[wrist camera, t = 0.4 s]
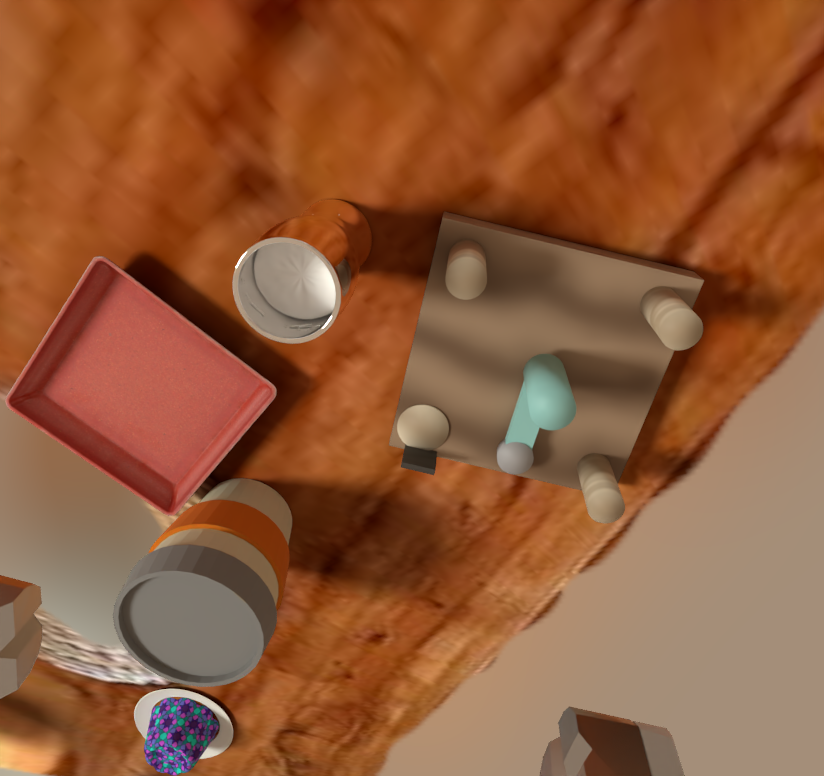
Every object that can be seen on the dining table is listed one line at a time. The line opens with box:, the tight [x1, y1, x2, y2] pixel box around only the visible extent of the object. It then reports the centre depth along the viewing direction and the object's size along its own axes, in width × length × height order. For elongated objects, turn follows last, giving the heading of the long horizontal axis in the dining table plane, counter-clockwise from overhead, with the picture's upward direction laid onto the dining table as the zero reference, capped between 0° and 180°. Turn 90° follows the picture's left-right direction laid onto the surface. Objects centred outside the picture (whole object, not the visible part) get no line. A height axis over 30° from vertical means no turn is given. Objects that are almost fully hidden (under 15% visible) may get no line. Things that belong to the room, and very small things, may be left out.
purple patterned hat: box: [134, 689, 233, 775], centre depth 77 cm, size 12×12×5 cm
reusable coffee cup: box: [113, 478, 292, 687], centre depth 58 cm, size 12×13×15 cm
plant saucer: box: [6, 256, 277, 516], centre depth 59 cm, size 18×18×3 cm
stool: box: [389, 212, 704, 523], centre depth 52 cm, size 20×20×8 cm
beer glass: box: [233, 199, 372, 344], centre depth 46 cm, size 7×7×15 cm
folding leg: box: [497, 354, 576, 474], centre depth 51 cm, size 11×3×8 cm, turn 168°
